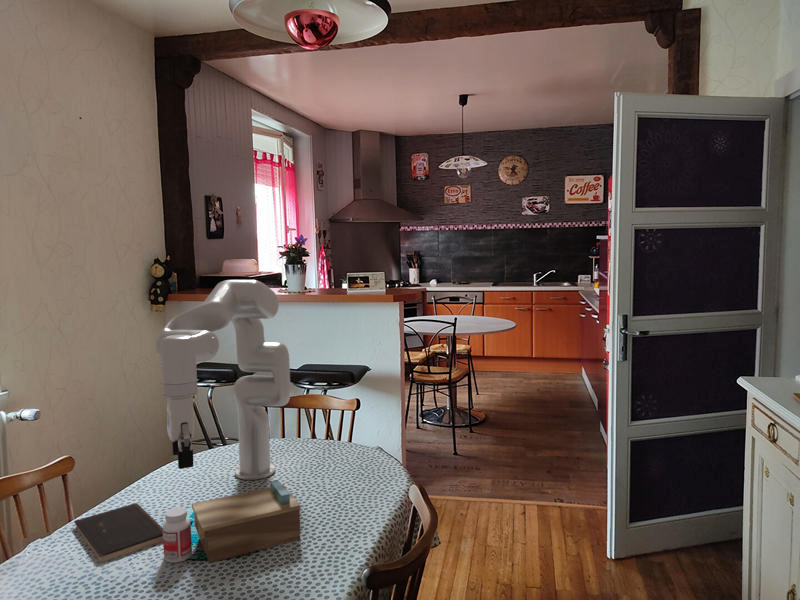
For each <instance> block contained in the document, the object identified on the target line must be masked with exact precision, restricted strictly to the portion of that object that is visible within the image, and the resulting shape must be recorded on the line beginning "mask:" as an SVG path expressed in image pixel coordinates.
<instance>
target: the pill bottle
mask: <svg viewBox="0 0 800 600" xmlns="http://www.w3.org/2000/svg"><path fill="white" fill-rule="evenodd" d="M187 511H188V510H187V508H186V507H182V506H181V507H180V506H179V507H174V508H171V509H168V510H167V511H166V512H165V514H164V515H165V517H164V518H165V521H164V522H163V523H162V528H163V541H162V545H163V558H164V561H166V562H167V563H173V564H175V563H180V562H181V563H182V562H184V561H186V560H188V559H189V558H191V556H192V554H193V548H192V547H193V545H192V526H191V520H190V518H189V517H187V516H188V512H187Z"/></svg>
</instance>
